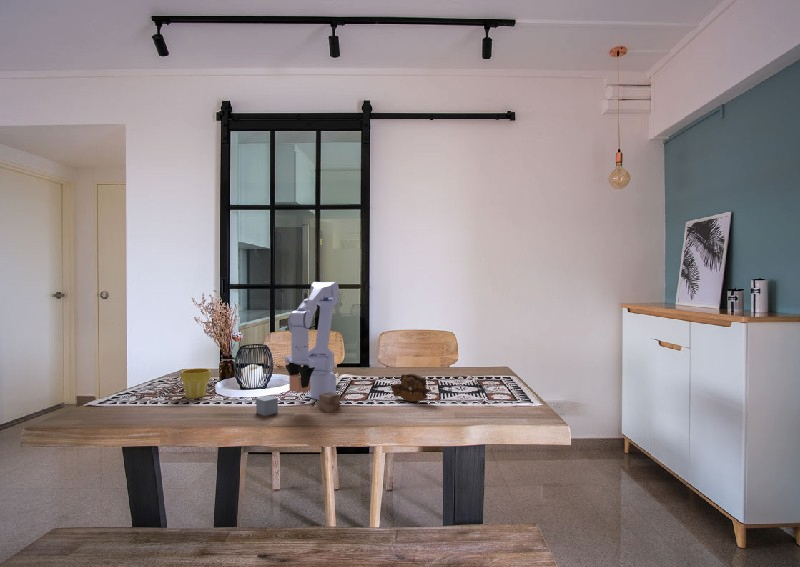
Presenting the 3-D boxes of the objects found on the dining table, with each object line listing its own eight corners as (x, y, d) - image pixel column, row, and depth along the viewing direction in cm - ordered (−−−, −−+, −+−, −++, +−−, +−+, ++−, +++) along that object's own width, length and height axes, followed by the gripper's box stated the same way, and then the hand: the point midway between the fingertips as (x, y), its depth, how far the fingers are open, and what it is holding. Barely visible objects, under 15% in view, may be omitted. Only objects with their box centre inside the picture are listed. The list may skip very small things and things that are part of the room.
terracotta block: (301, 387, 159) (301, 373, 159) (310, 389, 156) (310, 375, 156) (289, 390, 156) (289, 375, 156) (298, 392, 152) (298, 377, 152)
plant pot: (215, 393, 179) (215, 368, 179) (201, 400, 169) (201, 373, 168) (190, 392, 180) (190, 367, 180) (175, 399, 170) (175, 373, 169)
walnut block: (330, 406, 162) (330, 392, 162) (339, 408, 158) (339, 394, 158) (319, 409, 158) (319, 394, 158) (328, 411, 155) (328, 397, 154)
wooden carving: (388, 399, 170) (388, 373, 169) (394, 397, 174) (394, 370, 174) (428, 405, 162) (428, 377, 162) (433, 402, 166) (433, 375, 166)
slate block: (269, 409, 157) (269, 395, 157) (277, 412, 153) (277, 398, 153) (256, 413, 153) (256, 398, 153) (264, 416, 150) (264, 401, 150)
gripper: (277, 345, 157) (277, 384, 158) (303, 349, 148) (303, 391, 148) (294, 343, 163) (294, 381, 163) (320, 347, 153) (320, 387, 153)
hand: (300, 385), depth 156 cm, fingers closed on terracotta block, 5 cm apart
